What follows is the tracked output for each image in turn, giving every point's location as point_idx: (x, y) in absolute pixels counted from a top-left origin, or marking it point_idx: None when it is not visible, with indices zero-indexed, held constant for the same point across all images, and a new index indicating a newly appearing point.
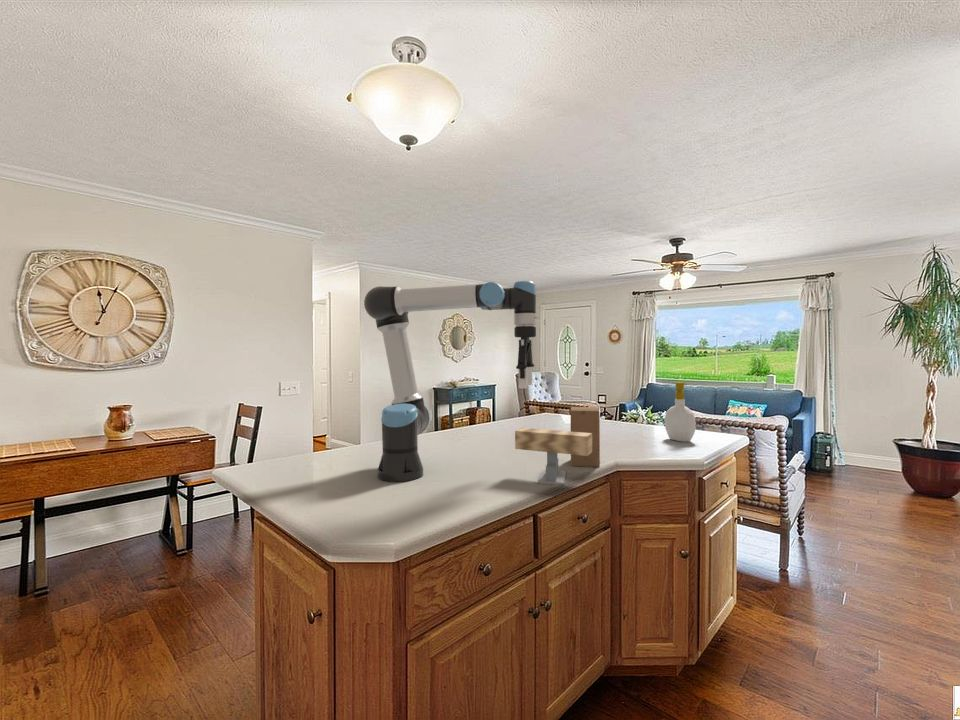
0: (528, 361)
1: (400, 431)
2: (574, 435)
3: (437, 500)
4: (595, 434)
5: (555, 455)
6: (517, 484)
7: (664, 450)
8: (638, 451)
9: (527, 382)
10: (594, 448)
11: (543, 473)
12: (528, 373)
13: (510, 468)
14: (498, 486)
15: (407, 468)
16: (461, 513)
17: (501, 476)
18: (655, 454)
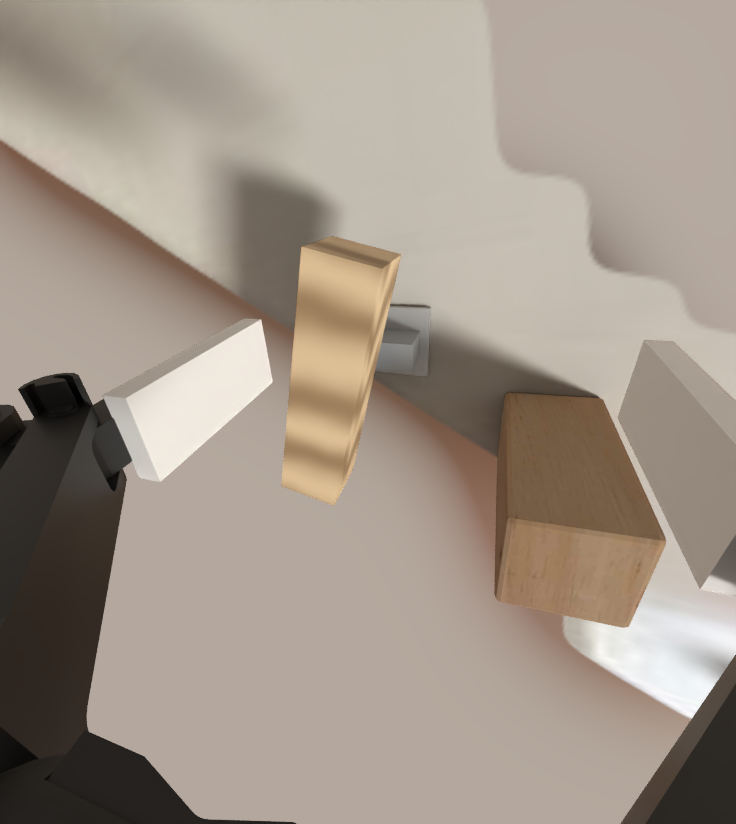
0: (734, 662)
1: None
2: (284, 457)
3: (84, 34)
4: (496, 518)
5: None
6: (288, 247)
7: (710, 641)
8: None
9: (639, 386)
10: (497, 483)
11: (388, 314)
12: (676, 466)
13: (456, 184)
14: (253, 193)
15: None
16: (63, 153)
17: (349, 174)
18: (656, 608)
